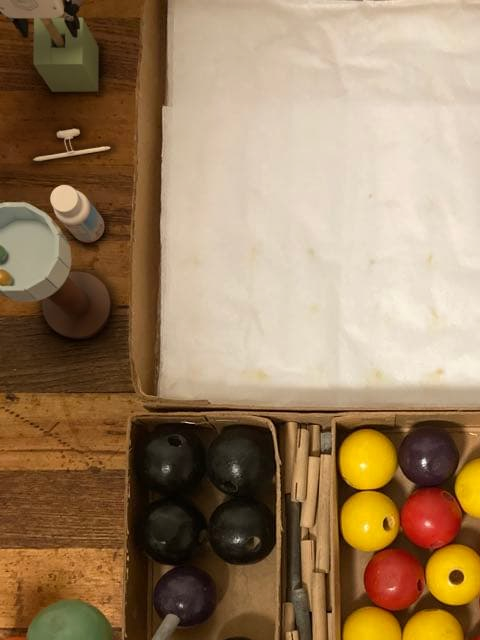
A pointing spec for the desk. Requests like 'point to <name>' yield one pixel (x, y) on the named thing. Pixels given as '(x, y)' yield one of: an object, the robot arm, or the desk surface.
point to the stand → (66, 58)
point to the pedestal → (78, 306)
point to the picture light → (69, 135)
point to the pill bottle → (77, 213)
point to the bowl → (32, 252)
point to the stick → (53, 32)
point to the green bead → (2, 253)
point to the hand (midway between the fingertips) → (50, 29)
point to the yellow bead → (5, 278)
